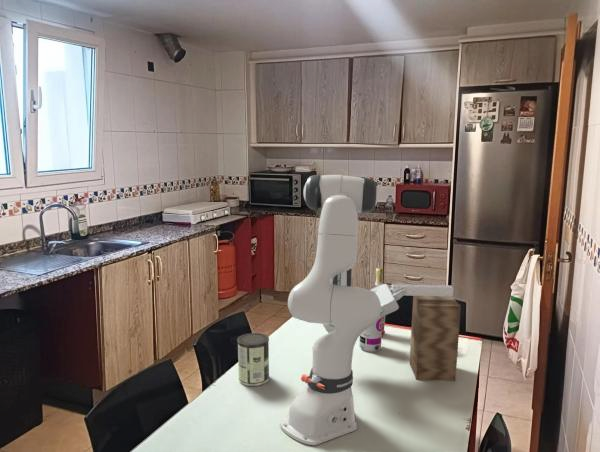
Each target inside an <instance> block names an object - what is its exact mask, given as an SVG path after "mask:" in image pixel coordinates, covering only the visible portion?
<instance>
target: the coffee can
mask: <svg viewBox="0 0 600 452" xmlns="http://www.w3.org/2000/svg"><path fill="white" fill-rule="evenodd" d="M236 341H237V360H238V364H237V365H238V382H239V383H240V384H242V385H245V386H248V387H257V386H261V385H264V384H267V383H268V382H269V381H270V364H269V363H270V360H269V359H270V357H269V355H270V353H269V351H270V349H269V344H270V343H269V341H270V337H269V336H268V335H267V334H264V333H259V332H249V333H245V334H241V335H240V336H238V337H237V340H236Z"/></svg>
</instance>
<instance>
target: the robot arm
mask: <svg viewBox="0 0 600 452" xmlns="http://www.w3.org/2000/svg"><path fill="white" fill-rule="evenodd" d="M378 187H379V186H378V185H377V182H376V181H375V180H374V179H372V178H368V177H359V176H351V175H342V174H324V175H323V174H322V175H321V174H314V175H310V176H309V177H308V178H307V179H306V182H305V184H304V185H303V190H302V191H303V193H302V194H303V199H304V202H305V205H306V206H307V207H308V208H309V209H310V210H313V211H314V212H315V214H318V212H319V211H320V210H321V212H320V216H319V223H318V231H317V233H318V234H317V243H316V244H317V245H316V253H315V254H316V255H315V260H314V263H313V266H312V268H311V270H310V271H309V273H308V274H307V276H306V277H304V279H303V280H302V281H300V282H299V283H297V284H296V285H295V286H294V287H293V288H292V289H291V291H290V292H289V293H288V298H287V307H288V310H289V313H290V314H291V316H292V317H293V318H294V319H295V320H299V321H303V322H306V323H311V324H320V325H323V327H324V329H325V331H326V332H327V333H325V334H323V335H321V336H319V337H318V338H317V339H316V340H315V341H314V343H313V345H312V367H311V370H310V373H309V375H307V374H305V373H303V374H302V375H301V378H300V380H301V381H302V382H303V383H305V384H306V385H305V386H304V388H303V389H301V391H300V393H298V395H297V396H296V398H294V400H293V401H292V402H291V403H290V406H289V410H288V415H286V416H285V417H283V418H282V419H281V420H280V421H279V427H280V429H281V430H282V431H283V432H284V433H285V434H286V435H288V436H289V437H290V438H292V439H294V440H296V441H297V442H299V443H301V444H305V445H308V446H309V445H310V446H317V445H320V444H323V443H325V442H328V441H331V440H333V439H336V438H339V437H341V436H344V435H347V434H349V433H351V432H354V431H356V430H358V426H357V422H356V414H355V405H354V404H355V403H354V402H355V401H354V396H353V395H354V394H353V390H352V389H353V388H352V386H353V383H354V381H353V380H354V376H353V375H354V374H353V373H354V371H353V370H352V367H353V366H352V364H353V355H354V353H353V352H354V348H355V344H356V342H357V340H358V338H360V334H361V333H362V332H363V331H365V330H366V329H367V328H369V327H371V326H372V325H373V324H375V322H376V321H377V320H378V318H379V317H382V316H385V317H386V316H387V315H389V314H391V313H394V312H396V311H397V310H399V308H400V306H399V304H398V302H397V301H399V300H400V299H402V298H403V296H407V295H406V294H407V291H406V289H405V288H403V289H401V290H400V291H399V292H397V293H395V294H393V295H392V293H391V288H392V287H391V288H390V287H389V285H388V284H387V283H382V285H379V286H377V287H375V286H374V287H375V288H373V289H371V288H370V289H371V290H370V289H367V288H363V287H360V286H352V269H353V267H354V266H355V265H356V262H357V256H358V255H357V254H358V242H359V241H358V238H359V218H358V217H359V216H358V214H359V213H361V214H368V213H371V212H373V211H374V210H375V209H376V207H377V205H378V202H379V198H380V191H379V188H378Z"/></svg>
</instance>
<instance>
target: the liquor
mask: <svg viewBox="0 0 600 452" xmlns="http://www.w3.org/2000/svg"><path fill="white" fill-rule="evenodd" d="M383 272H384V268H382V267H376V268H375V283H374V286H373V287H371V288H370V289H369V290H371V289H373V288H375V287H377V286H379V285H382V284H383V274H384V273H383ZM385 322H386V315H385V316H382V336H383V335H385V334H386V331H385V326H386V325H385Z"/></svg>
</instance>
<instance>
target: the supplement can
mask: <svg viewBox="0 0 600 452" xmlns="http://www.w3.org/2000/svg"><path fill="white" fill-rule="evenodd" d="M382 336H383V335H382V317H379V318H378V320H377V321H376V322H375V324H373V325H372V326H371V327H369V328H367V329H366V330H365V331H363V332H362V333H361V334H360V336H359V345H358V346H359V347H360V349H361V350H362V351H364V352H368V353H374V352H375V353H377V352H378V351H379V350H380V349H382Z"/></svg>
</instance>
